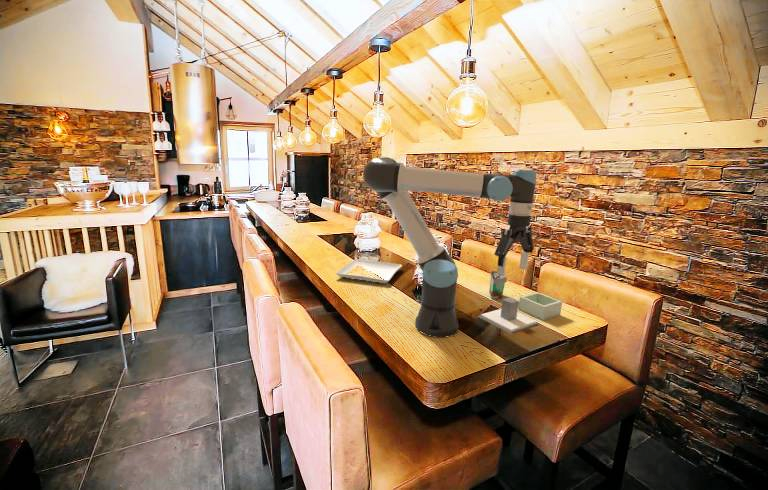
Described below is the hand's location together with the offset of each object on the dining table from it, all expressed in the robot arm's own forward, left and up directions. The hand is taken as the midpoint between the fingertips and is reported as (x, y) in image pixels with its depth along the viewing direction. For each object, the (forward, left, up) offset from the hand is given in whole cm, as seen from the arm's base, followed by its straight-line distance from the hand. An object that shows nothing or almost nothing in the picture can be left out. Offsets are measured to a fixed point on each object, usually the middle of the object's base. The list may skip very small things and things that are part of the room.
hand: (512, 271), depth 130 cm
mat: (-1, -2, -19) cm, 19 cm away
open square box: (+16, -3, -19) cm, 25 cm away
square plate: (-20, +69, -20) cm, 75 cm away
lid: (-1, -2, -18) cm, 18 cm away
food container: (+15, +17, -19) cm, 30 cm away
